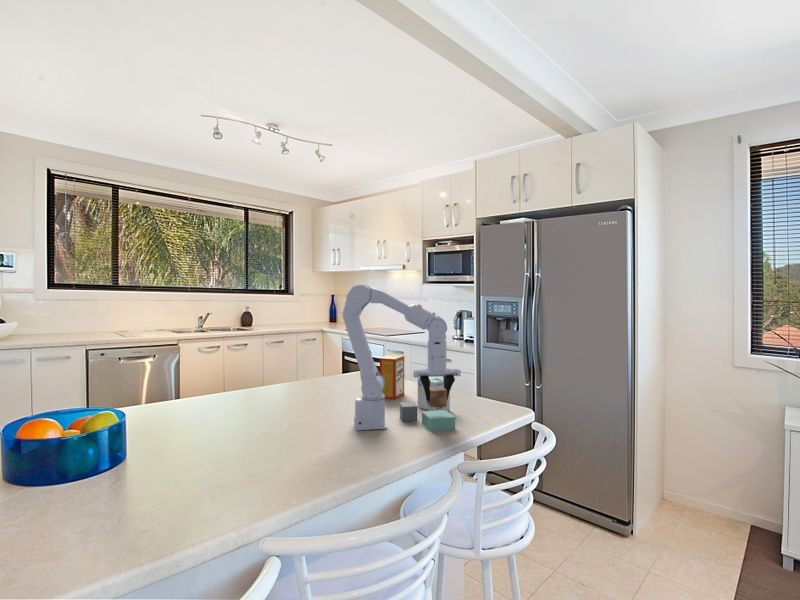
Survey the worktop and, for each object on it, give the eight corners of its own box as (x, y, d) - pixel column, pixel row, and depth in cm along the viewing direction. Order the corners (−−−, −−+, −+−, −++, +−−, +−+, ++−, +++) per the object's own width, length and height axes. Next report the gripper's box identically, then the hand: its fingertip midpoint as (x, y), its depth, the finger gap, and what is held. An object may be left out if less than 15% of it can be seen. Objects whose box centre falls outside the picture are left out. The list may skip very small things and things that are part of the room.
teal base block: (430, 432, 128) (430, 418, 128) (421, 424, 136) (421, 411, 136) (455, 429, 130) (455, 416, 130) (445, 422, 138) (445, 409, 138)
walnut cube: (430, 407, 129) (430, 390, 129) (427, 402, 134) (427, 387, 134) (446, 406, 130) (446, 390, 129) (442, 402, 135) (442, 386, 134)
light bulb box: (450, 410, 150) (450, 380, 150) (435, 414, 146) (435, 382, 146) (431, 404, 159) (431, 375, 158) (416, 406, 155) (416, 377, 155)
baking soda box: (389, 392, 176) (389, 353, 175) (404, 394, 173) (404, 354, 173) (379, 398, 167) (379, 357, 167) (395, 399, 165) (395, 358, 164)
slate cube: (402, 422, 137) (402, 406, 137) (399, 417, 142) (399, 402, 142) (417, 421, 138) (417, 406, 138) (414, 417, 143) (414, 402, 142)
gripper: (416, 358, 126) (416, 404, 127) (463, 357, 129) (463, 402, 129) (411, 354, 133) (411, 398, 134) (457, 353, 135) (456, 396, 136)
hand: (436, 399), depth 132 cm, fingers closed on walnut cube, 5 cm apart
